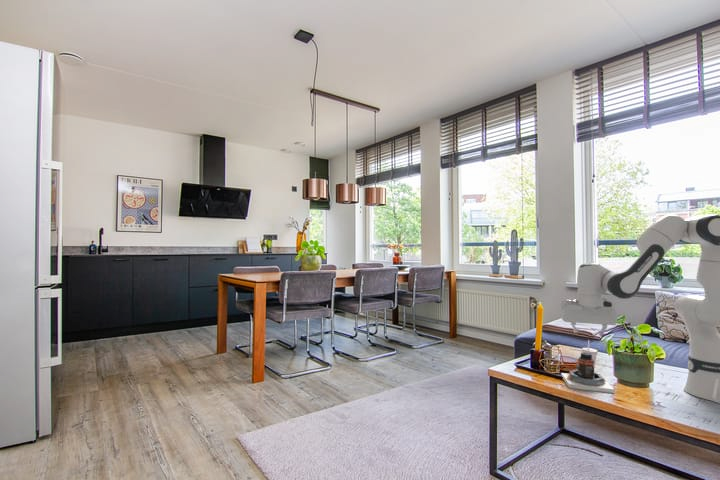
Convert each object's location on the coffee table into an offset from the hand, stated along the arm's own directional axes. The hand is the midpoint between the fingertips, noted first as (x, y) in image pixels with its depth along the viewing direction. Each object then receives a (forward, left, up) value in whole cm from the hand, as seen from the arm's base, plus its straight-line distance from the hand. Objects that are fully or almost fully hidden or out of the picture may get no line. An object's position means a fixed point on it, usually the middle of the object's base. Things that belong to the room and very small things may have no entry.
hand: (588, 333), depth 158 cm
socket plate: (+1, +1, -21) cm, 21 cm away
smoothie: (-6, -20, -21) cm, 30 cm away
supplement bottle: (+1, 0, -20) cm, 20 cm away
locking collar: (+1, +1, -20) cm, 20 cm away
